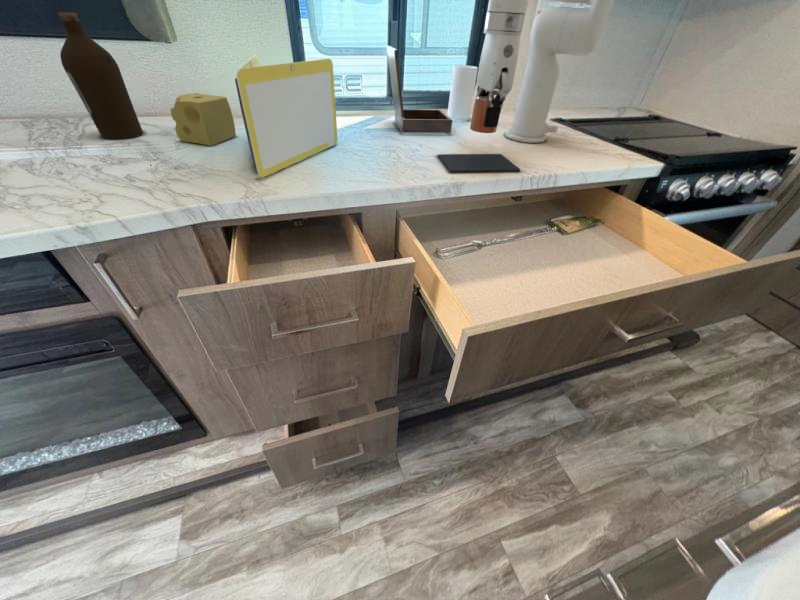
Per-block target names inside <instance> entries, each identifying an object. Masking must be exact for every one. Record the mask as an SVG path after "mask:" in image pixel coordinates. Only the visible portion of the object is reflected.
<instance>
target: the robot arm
mask: <svg viewBox="0 0 800 600" xmlns="http://www.w3.org/2000/svg"><path fill="white" fill-rule="evenodd" d="M555 1H556V2H559V3H569V4H570V3H571V4H589V5H591V6H590V7H589V8H587V7H574V6H573V7H571V6H570V7H568V6H552V7H546V8H545V9H542V10H541V11H540V12H539V13H537V15H536V17H535V18H534V20H533V23H532V27H531V31H530V32H531V33H530V43H529V50H528V57H527V62H526V67H525V71H524V76H523V80H522V83H521V88H520V92H519V95H518V100H517V105H516V109H515V111H514V117H513V121H512V126H511V128H510V129H507V130H505V133H504V135H505V137H506V138H508V139H510V140H513V141H516V142H520V143H521V142H522V143H529V144H530V143H531V144H536V143H543V142H545V141H546V139H547V135H546V134H548V133H557V132H558V130H559V129H558V128H559V127H558V125H550V124H548V123H546V121H547V117H548V114H549V111H550V108H551V105H552V101H553V97H554V94H555V91H556V87H557V83H558V81H559V78H560V65H559V62H558V59H557V55H567V56H569V55H570V56H587V55H589V54H590V53H592V52H593V51H594V50H595V48H596V46H597V44H598V43H599V40H600V38H601V35H602V33H603V30H604V27H605V25H606V23H607V20H608V18H609V14H610V12H611V10H612V7H613V4H614V2H615V0H555ZM528 4H529V0H488V4H487V11H486V16H485V21H484V22H485V23H484V29H483V34H485V37H484V41H483V45H482V49H481V54H480V58H479V64H478V69H477V76H476V84H477V89H476V90H477V92H476V96H475V98H476V97H478V96H488V97H489V107H487V110H486V115H485V120H484V127H497V128H498V125H499V120H500V115H501V111H502V108H503V106H504V102H505V101H506V97H507V96H508V95H509V93H510V92H511V91H512V88H513V84H514V81H515V75H516V70H517V64H518V58H519V53H520V42H521V41H520V40H521V35H522V32H523V31H522V30H523V26H524V22H525V17H526V12H527V8H528ZM494 97H495V99H494Z"/></svg>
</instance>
